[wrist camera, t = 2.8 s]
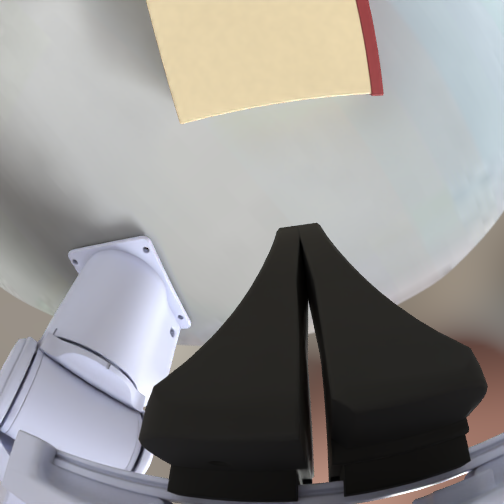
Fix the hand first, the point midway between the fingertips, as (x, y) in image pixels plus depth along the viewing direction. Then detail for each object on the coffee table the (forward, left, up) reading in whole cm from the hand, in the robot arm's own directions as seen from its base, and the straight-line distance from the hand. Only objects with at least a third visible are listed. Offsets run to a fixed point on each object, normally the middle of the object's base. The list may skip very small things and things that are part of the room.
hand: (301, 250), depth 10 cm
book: (+10, 0, -8) cm, 13 cm away
